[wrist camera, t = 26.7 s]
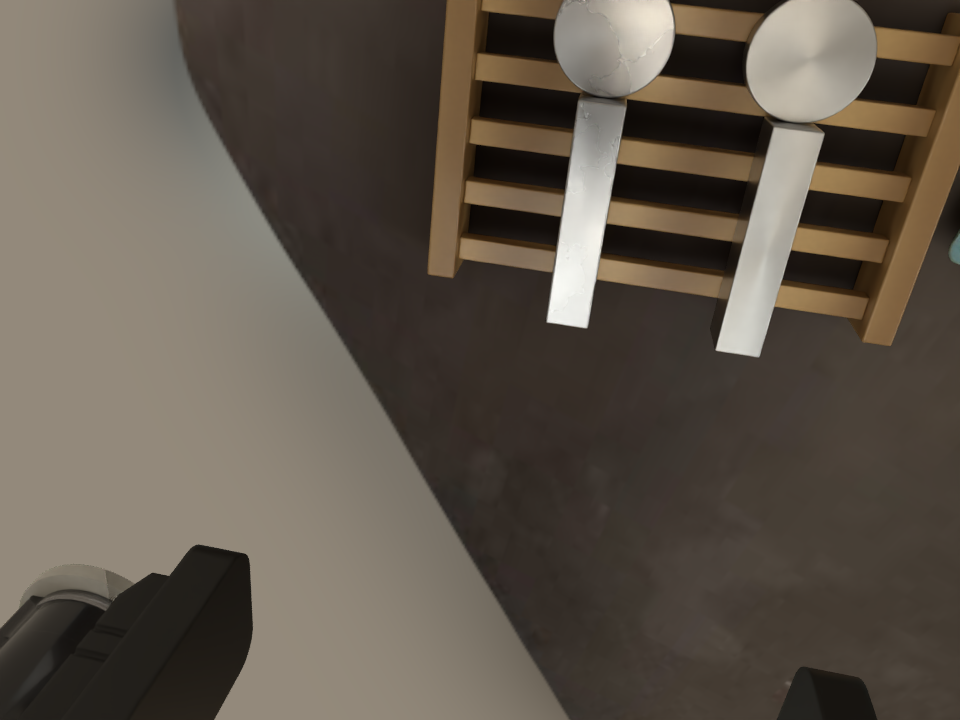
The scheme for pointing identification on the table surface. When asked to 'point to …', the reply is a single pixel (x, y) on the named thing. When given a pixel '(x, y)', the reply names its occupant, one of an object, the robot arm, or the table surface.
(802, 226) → the rack
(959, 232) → the teal serving tray
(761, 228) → the spoon
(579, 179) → the spoon
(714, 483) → the table surface
